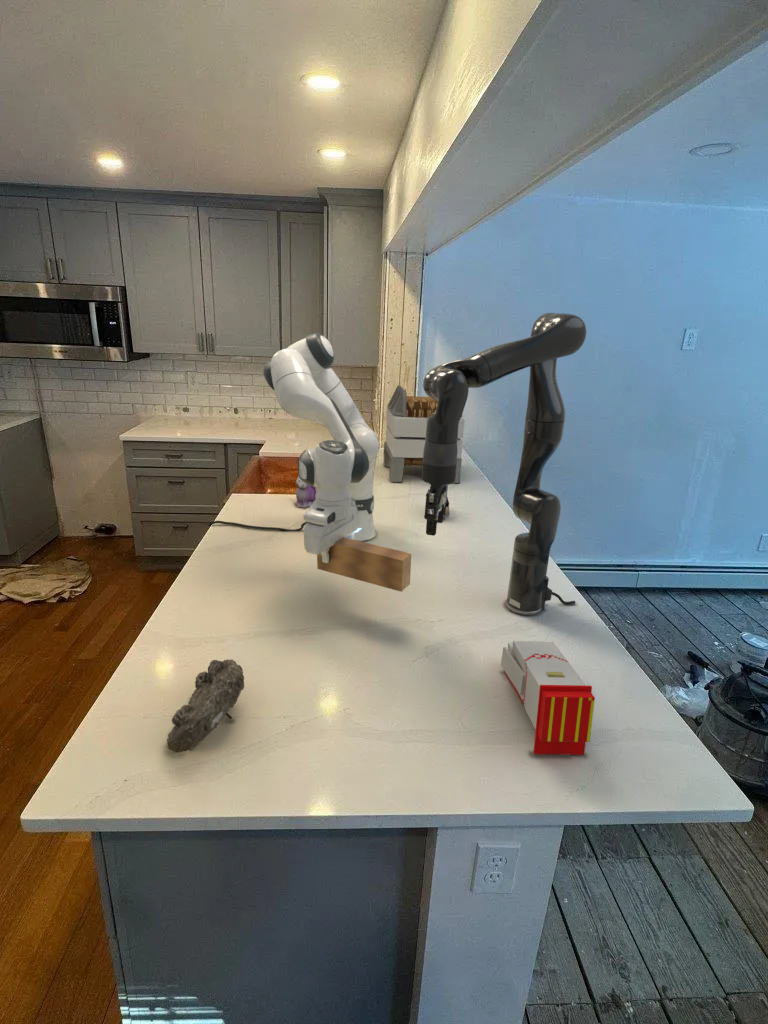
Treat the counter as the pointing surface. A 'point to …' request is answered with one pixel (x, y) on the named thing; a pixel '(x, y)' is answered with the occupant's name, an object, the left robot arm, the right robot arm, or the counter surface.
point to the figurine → (304, 494)
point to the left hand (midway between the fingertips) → (333, 557)
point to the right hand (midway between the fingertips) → (434, 528)
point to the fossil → (206, 705)
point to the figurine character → (446, 509)
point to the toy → (550, 696)
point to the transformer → (410, 433)
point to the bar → (368, 563)
